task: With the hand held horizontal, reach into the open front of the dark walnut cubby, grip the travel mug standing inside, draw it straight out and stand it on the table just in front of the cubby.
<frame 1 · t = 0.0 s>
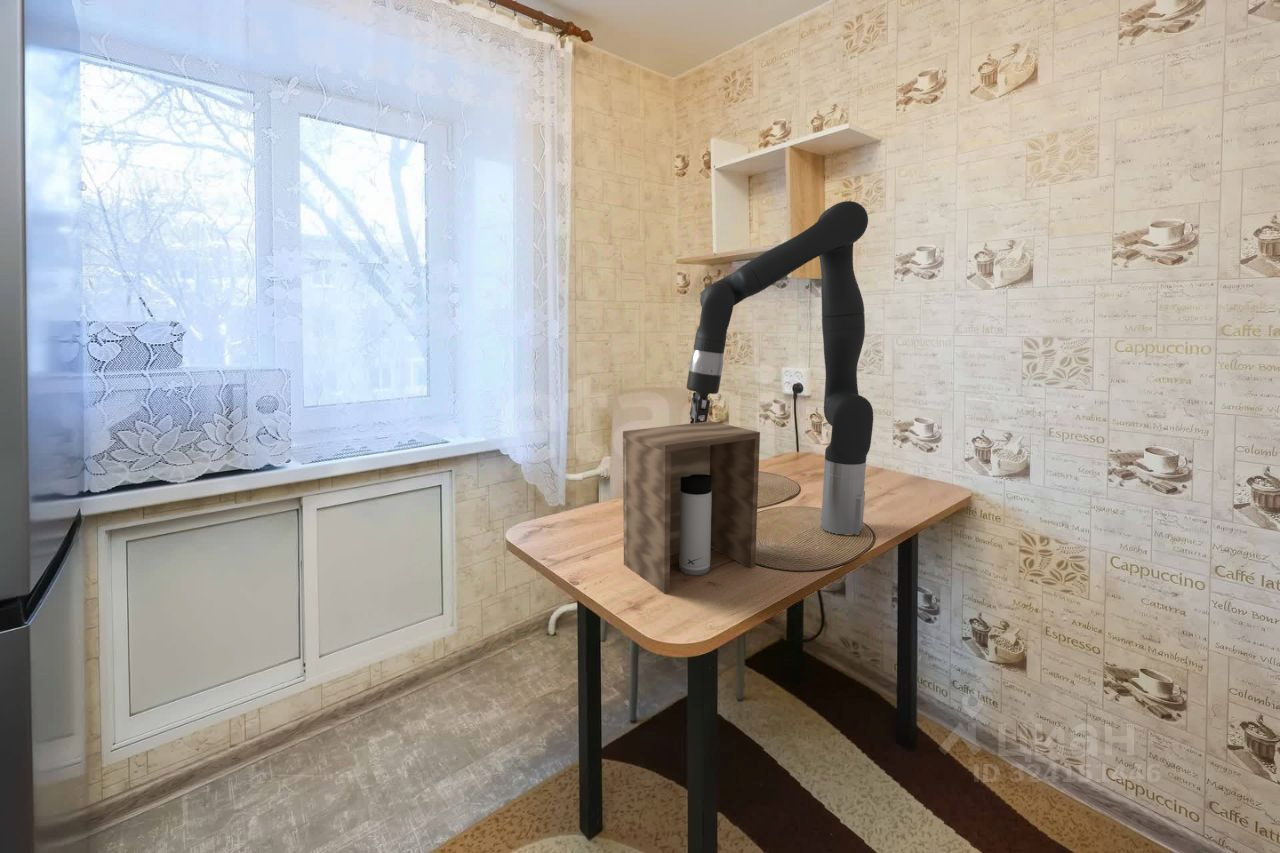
hand: (694, 439, 133), 22 cm above the table, tool pointing down, fingers open, 8 cm apart
travel mug: (695, 570, 115), on the table
cubby: (690, 566, 116), on the table
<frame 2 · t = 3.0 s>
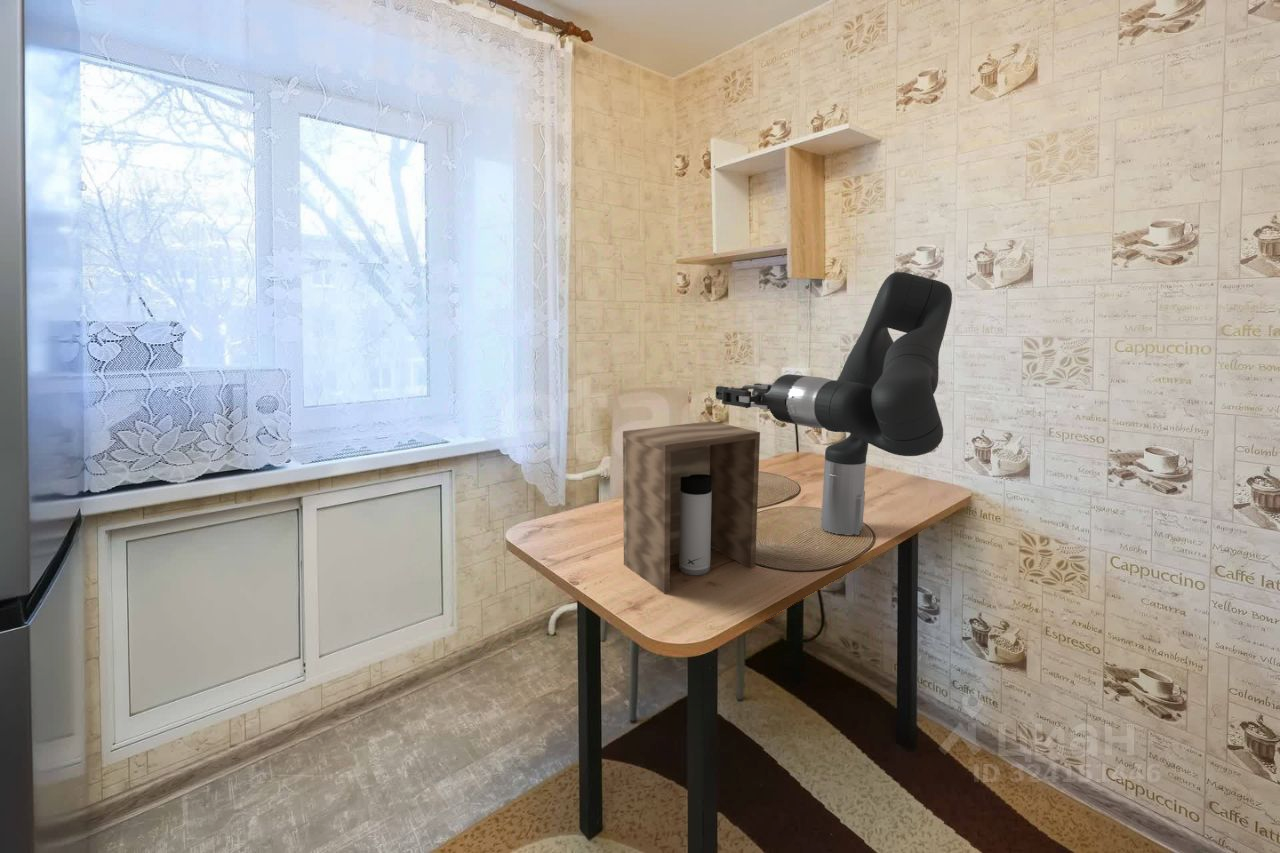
hand: (736, 390, 98), 38 cm above the table, tool horizontal, fingers open, 8 cm apart
nothing on the table moved.
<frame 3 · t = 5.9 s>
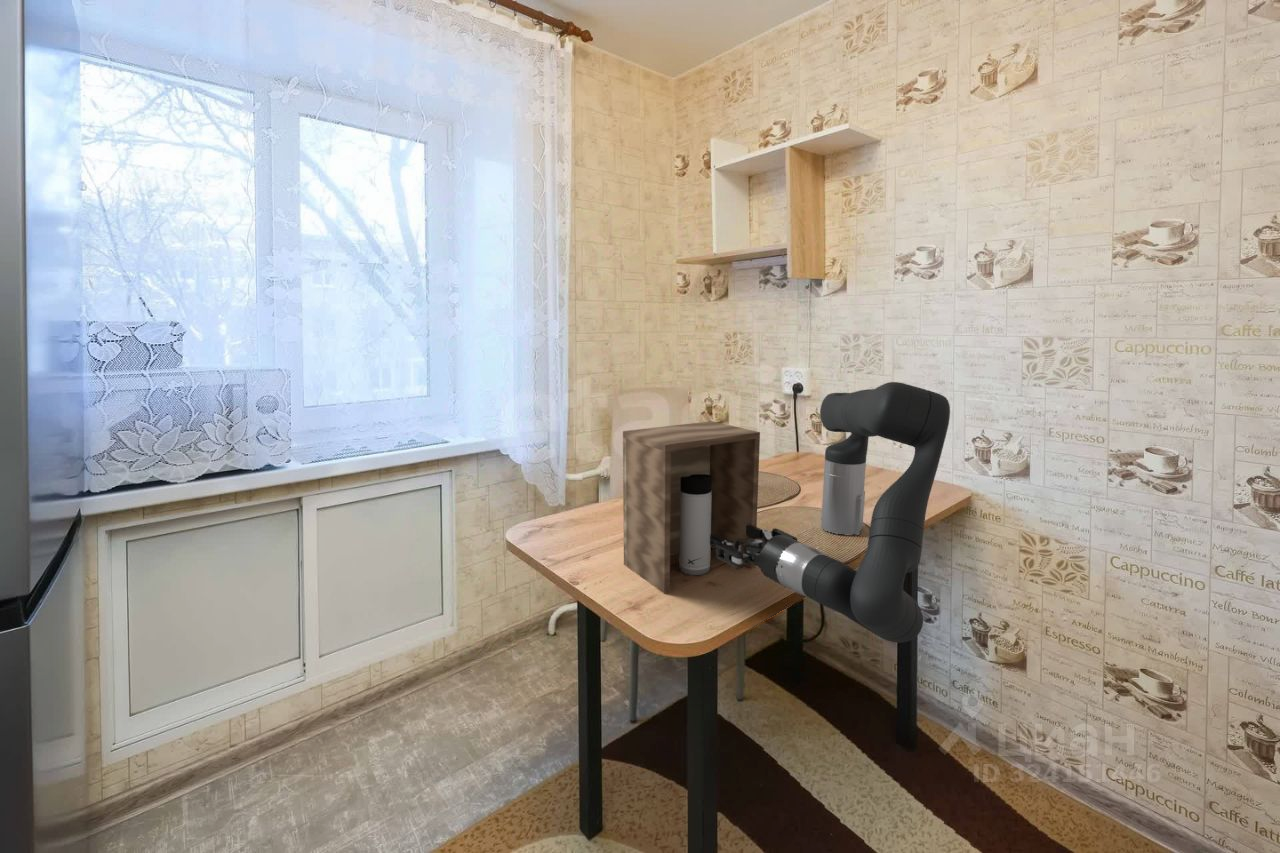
hand: (729, 534, 104), 11 cm above the table, tool horizontal, fingers open, 8 cm apart
nothing on the table moved.
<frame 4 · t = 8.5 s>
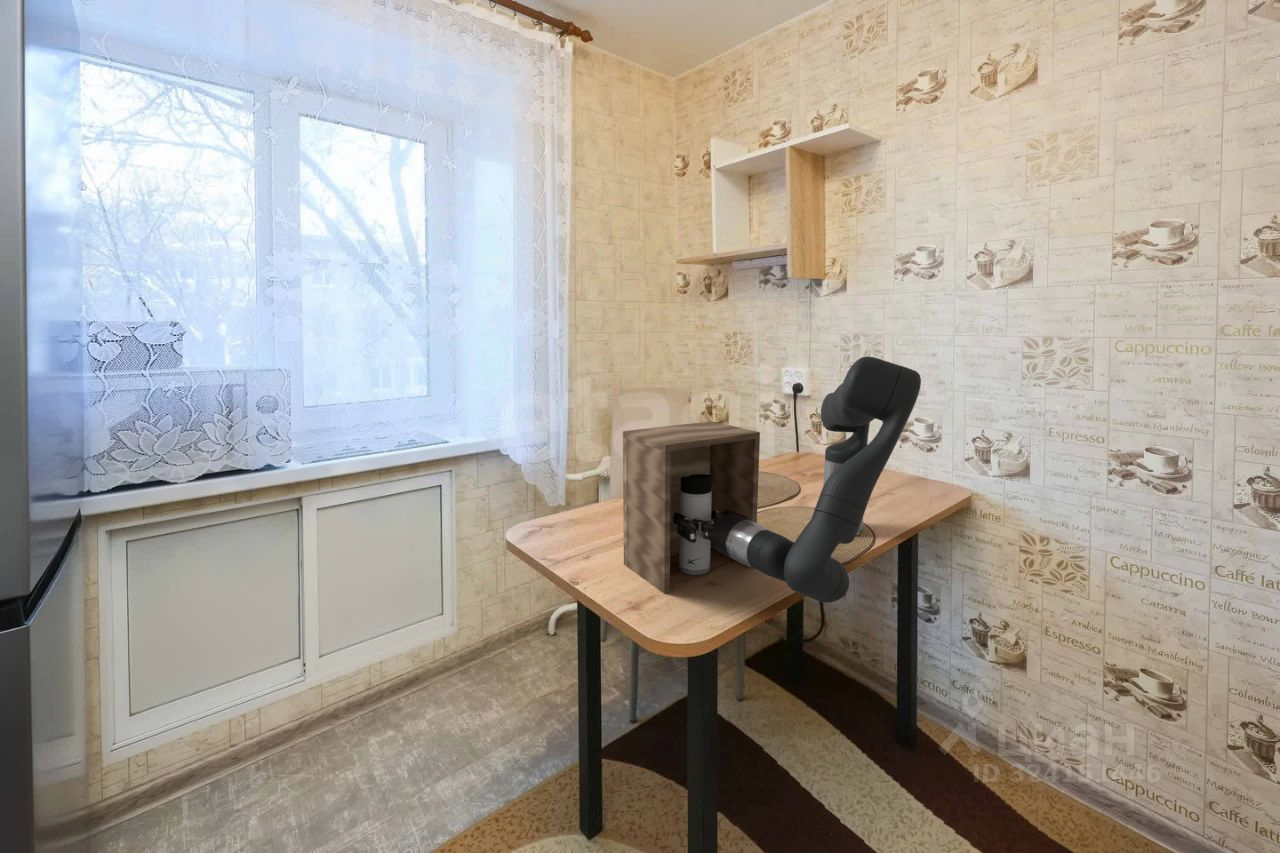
hand: (688, 514, 114), 11 cm above the table, tool horizontal, fingers closed on travel mug, 6 cm apart
travel mug: (695, 570, 115), on the table, touching gripper
everything else where it was.
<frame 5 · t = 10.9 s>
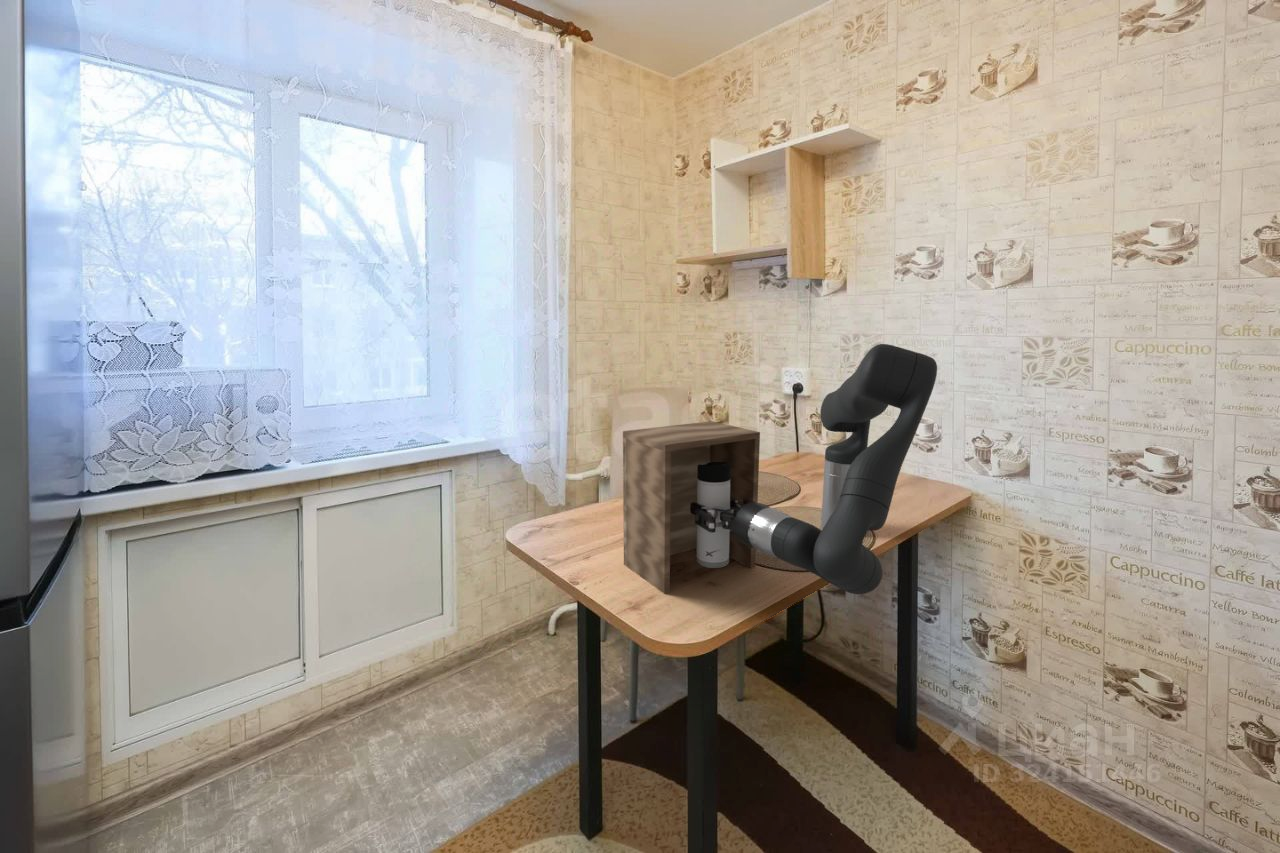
hand: (706, 504, 109), 15 cm above the table, tool horizontal, fingers closed on travel mug, 6 cm apart
travel mug: (713, 563, 109), point 4 cm above the table, touching gripper
everything else where it was.
when the fingers open (12 cm above the table, at t = 13.3 s): travel mug stays where it is, on the table.
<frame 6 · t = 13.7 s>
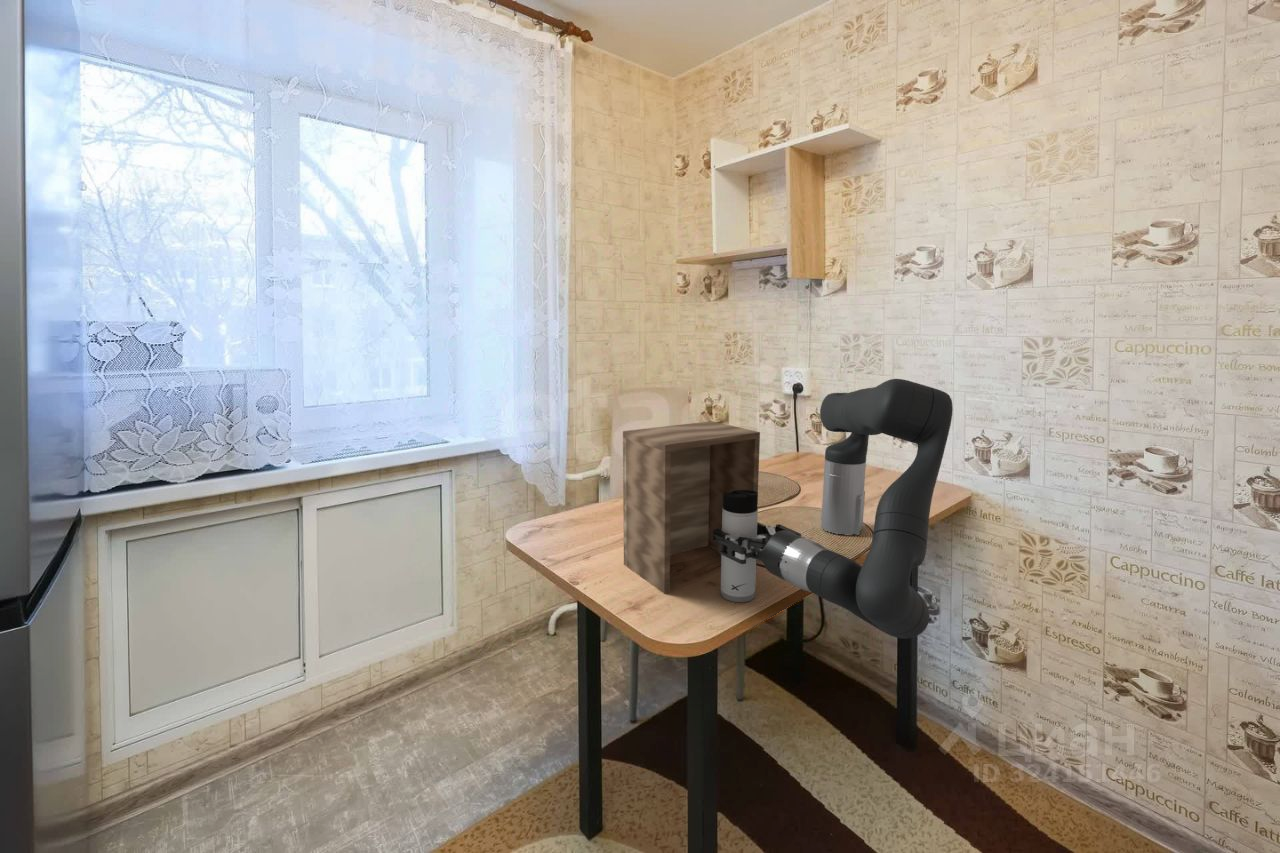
hand: (732, 530, 103), 12 cm above the table, tool horizontal, fingers open, 8 cm apart
travel mug: (738, 596, 104), on the table
everything else where it was.
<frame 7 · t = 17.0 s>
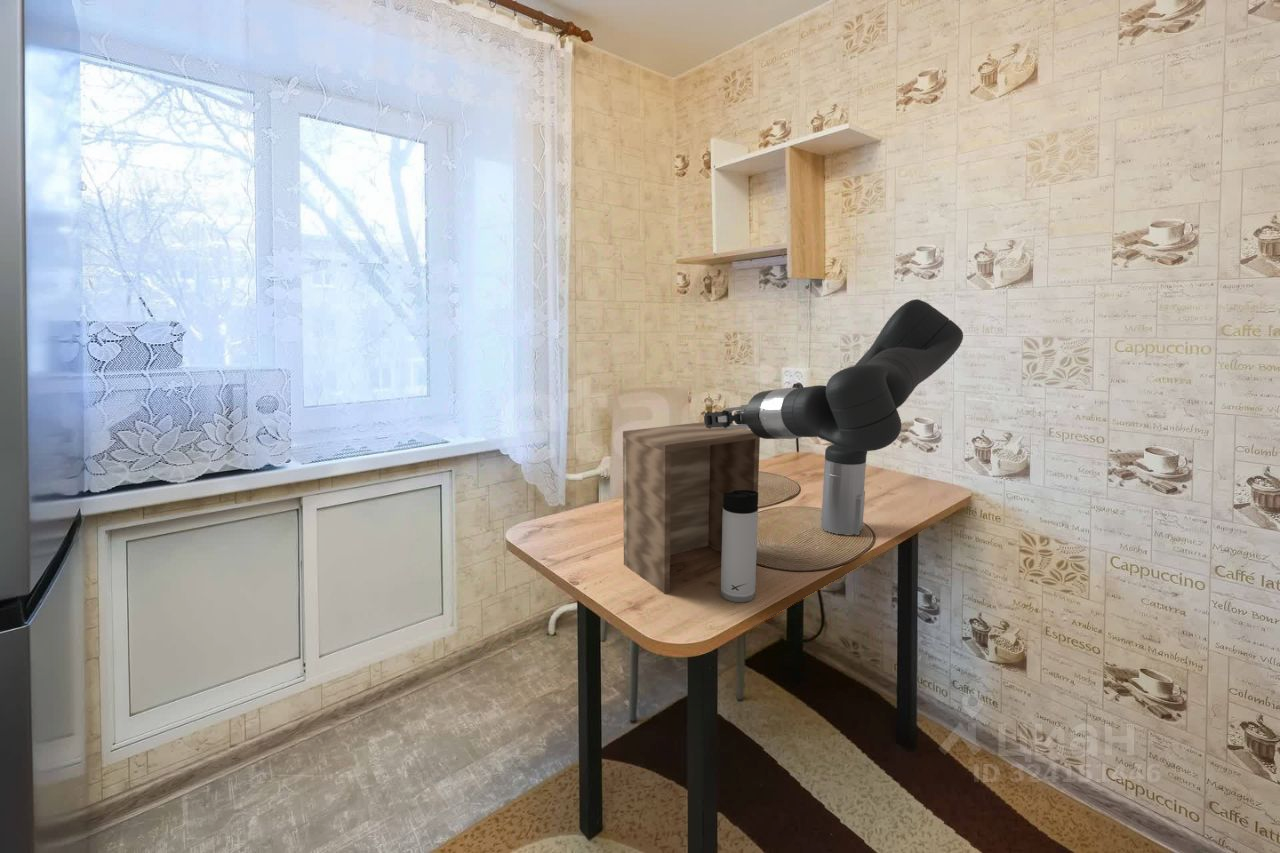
hand: (728, 417, 99), 33 cm above the table, tool horizontal, fingers open, 8 cm apart
nothing on the table moved.
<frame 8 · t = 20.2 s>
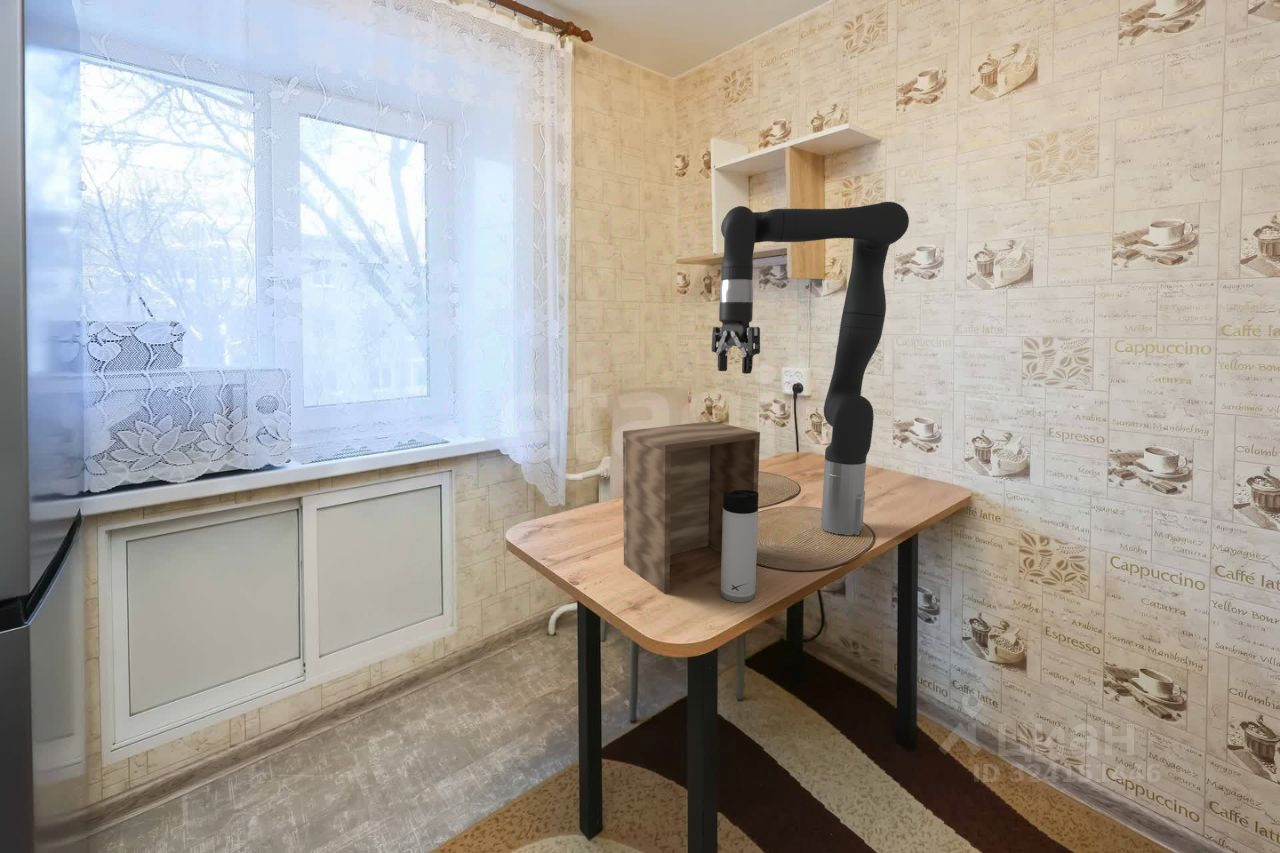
hand: (734, 372, 131), 38 cm above the table, tool pointing down, fingers open, 8 cm apart
nothing on the table moved.
at the end: travel mug inside the target area (0.1 cm from its centre), on the table; travel mug tilted 0°; travel mug touching table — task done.
